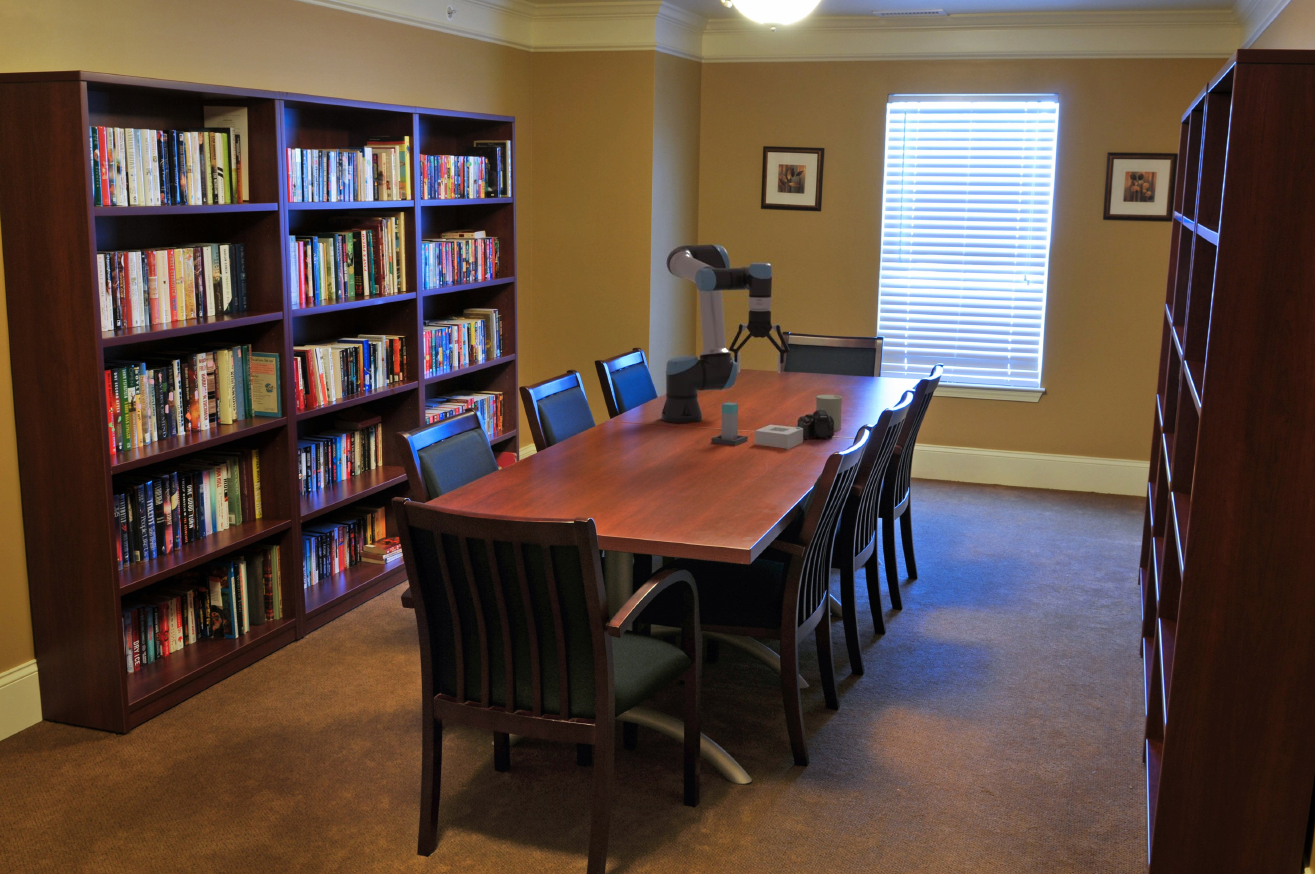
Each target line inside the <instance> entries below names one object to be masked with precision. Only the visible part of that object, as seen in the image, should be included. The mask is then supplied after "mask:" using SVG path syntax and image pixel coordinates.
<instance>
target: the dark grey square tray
mask: <svg viewBox="0 0 1315 874" xmlns="http://www.w3.org/2000/svg"><path fill="white" fill-rule="evenodd" d="M721 435H722V433H721V434H719V435H717V436H716V435H715V436H714V437H711V439H710V441H711V444H716V445H717V444H718V445H724V446H725V445H727V446H733V447H736V446H739V445H741V444H743V443H746V442H748V437H749V436H748V435H742V434H738V439H736V440H728V439H721Z"/></svg>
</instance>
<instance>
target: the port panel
mask: <svg viewBox="0 0 1315 874" xmlns="http://www.w3.org/2000/svg"><path fill="white" fill-rule="evenodd" d="M803 441H804V439H803V428H801V427H798V426H788V425H787V426H785V425H777V424H776V425H775V424H769V425H766V426H764V427H761V428H759V429H758V428H757V429H756V430H754V445H756V446H757V445H758V446H765V447H766V446H767V447H771V448H772V447H773V448H781V449H782V448H783V450H791V449H792V448H794V447H796V446H799V445H801V444H803Z"/></svg>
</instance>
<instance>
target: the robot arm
mask: <svg viewBox="0 0 1315 874" xmlns="http://www.w3.org/2000/svg"><path fill="white" fill-rule="evenodd" d="M666 268H667V270H668V272H669V273H670V274H671V275H672V276H674V277H676V278H680V279H683V278H685V279H687V280H689V281H690V282H693V283H694V284H695V286H696V288H697V290H698V295H699V296H698V297H699V307H700V308H699V312H700V323H701V325H700V326H701V335H702V348H703V350H702V351H701V353H700V354H699V358H698V356H696V355H682V356H681V355H680V356H677V357H672V358H670V359H668V360H667V362H666V369H665V382H666V383H665V384H666V385H665V394H666V395H665V402H664V405H663V407H662V411H661V421H663V422H666V423H673V424H689V423H690V424H692V423H697V422H700V421H702V420H703V412H702V409H701V405H700V403H699V401H698V400H699V399H698V394H699V393H698V392H699V391H702V392H703V391H718V390H719V391H721V390H728V389H731V388H733V387H734V386H735V383H736V381H737V378H738V374H739V373H740V372H741V352H739V351H740V350H741V349H742V348H743V347H744V346H745V345H746V343H747V342H748V341H749V340H750V339H751V337H753V338H755V339H756V338H757V339H758V338H761V339H764V338H767V340H769V341H770V343H771V344H772V345H773V346H774V348H775V349H776V350H777V351H778V353H777V374H779V375H780V374H781V364H784V362H785V354H787V353H789V352H790V347H789V345H788V344H787V341H786V339H785V337H784V335H783V332H782V330H781V324H779V323H777V324H772V311H771V309H772V290H773V289H772V285H773V283H772V282H773V272H772V264H771V263H767V262H766V263H765V262H753V263H750V264H749V266H741V267H731V262H730V257H729V254H728V252H727V250H726V248H725V247H724V246H722V245H719V244H693V245H691V244H689V245H688V244H687V245H686V244H685V245H684V244H683V245H680V246H677V247H676V248H674V249H673V250H672V251H670V253H669V254H668V256H667V258H666ZM723 291H748V309H749V310H748V323H747V324H743V323H740V324H739V325H738V331H737V332H736V335H735V336H734V338H733V340H732V342H731V344H730V346H729V348H727V343H726V342H727V341H726V340H727V339H726V330H725V327H726V326H725V315H724V301H723ZM746 329H747V331H748V332H749V333H748V334H747V335H746V336H745V337H744V339H743V340H742V341H741V343H740V344H738V346H737V347H736V348H735V346H736V345H737V343H738V341H739V339H740V337H741V335H742V332H743V331H745V330H746ZM772 330H774V332H776V334H777V336H778V338H779V340H780V342H781V345H782V346H781V345H780V344H779V343H778V341H777V340H776V339H775V338H774V337H773V336H772V334H771V331H772ZM783 348H784V349H783ZM732 353H733V357H732V355H731V354H732Z"/></svg>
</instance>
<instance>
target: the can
mask: <svg viewBox="0 0 1315 874" xmlns="http://www.w3.org/2000/svg"><path fill="white" fill-rule="evenodd" d="M815 397H816V399H815V400H816V407H815V408H816V409H815V411H817V409H819V410H821V409H823V410H825V411H826V412H827V414H828V416H832V418H833V420H834V432H835V431H837V432H838V431H840V430H841V429H842V404H843V396H841V395H838V394H818V395H817V396H815Z"/></svg>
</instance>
